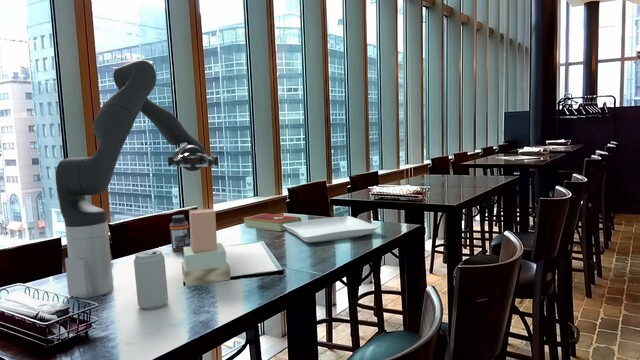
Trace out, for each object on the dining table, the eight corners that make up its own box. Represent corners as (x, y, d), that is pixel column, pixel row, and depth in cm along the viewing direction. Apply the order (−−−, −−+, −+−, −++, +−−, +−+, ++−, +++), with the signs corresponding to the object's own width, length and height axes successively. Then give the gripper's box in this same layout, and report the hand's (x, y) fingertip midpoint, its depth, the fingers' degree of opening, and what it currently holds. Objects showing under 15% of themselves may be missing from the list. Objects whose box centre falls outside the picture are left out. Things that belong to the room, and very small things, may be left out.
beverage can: (159, 311, 103) (154, 256, 102) (132, 310, 104) (127, 256, 103) (173, 300, 109) (169, 249, 108) (148, 300, 110) (143, 249, 109)
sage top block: (186, 271, 120) (185, 255, 119) (184, 261, 129) (183, 247, 129) (226, 266, 123) (225, 250, 122) (222, 257, 132) (221, 242, 132)
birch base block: (186, 288, 120) (185, 272, 119) (182, 276, 130) (181, 261, 129) (230, 281, 123) (229, 266, 123) (223, 270, 134) (222, 256, 133)
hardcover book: (265, 222, 203) (264, 212, 203) (301, 226, 190) (301, 216, 189) (243, 227, 194) (242, 217, 194) (280, 232, 181) (279, 221, 180)
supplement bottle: (175, 247, 163) (172, 214, 162) (192, 247, 162) (190, 214, 161) (169, 252, 157) (166, 218, 156) (187, 251, 156) (184, 217, 155)
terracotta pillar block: (193, 252, 122) (191, 213, 121) (191, 247, 128) (189, 210, 127) (217, 249, 124) (215, 211, 123) (213, 245, 130) (212, 208, 129)
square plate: (349, 224, 189) (348, 214, 189) (379, 237, 163) (379, 226, 163) (282, 232, 181) (282, 222, 180) (303, 247, 155) (303, 235, 154)
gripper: (167, 145, 147) (167, 149, 132) (214, 145, 151) (220, 149, 136) (167, 169, 148) (168, 176, 133) (215, 169, 152) (220, 175, 137)
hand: (194, 162), depth 134 cm, fingers open, 8 cm apart
